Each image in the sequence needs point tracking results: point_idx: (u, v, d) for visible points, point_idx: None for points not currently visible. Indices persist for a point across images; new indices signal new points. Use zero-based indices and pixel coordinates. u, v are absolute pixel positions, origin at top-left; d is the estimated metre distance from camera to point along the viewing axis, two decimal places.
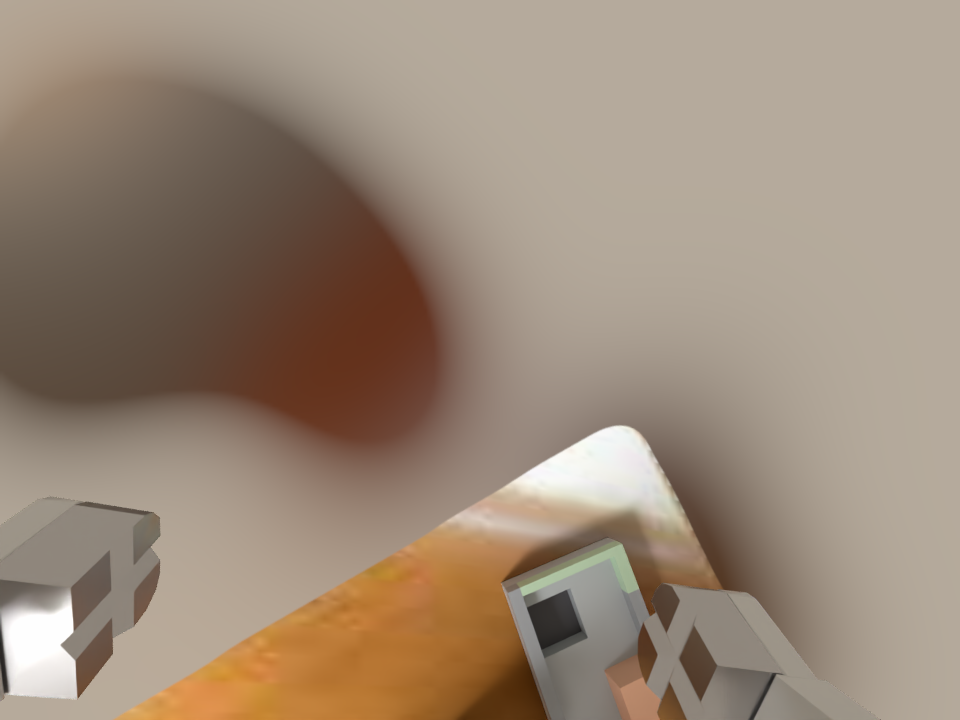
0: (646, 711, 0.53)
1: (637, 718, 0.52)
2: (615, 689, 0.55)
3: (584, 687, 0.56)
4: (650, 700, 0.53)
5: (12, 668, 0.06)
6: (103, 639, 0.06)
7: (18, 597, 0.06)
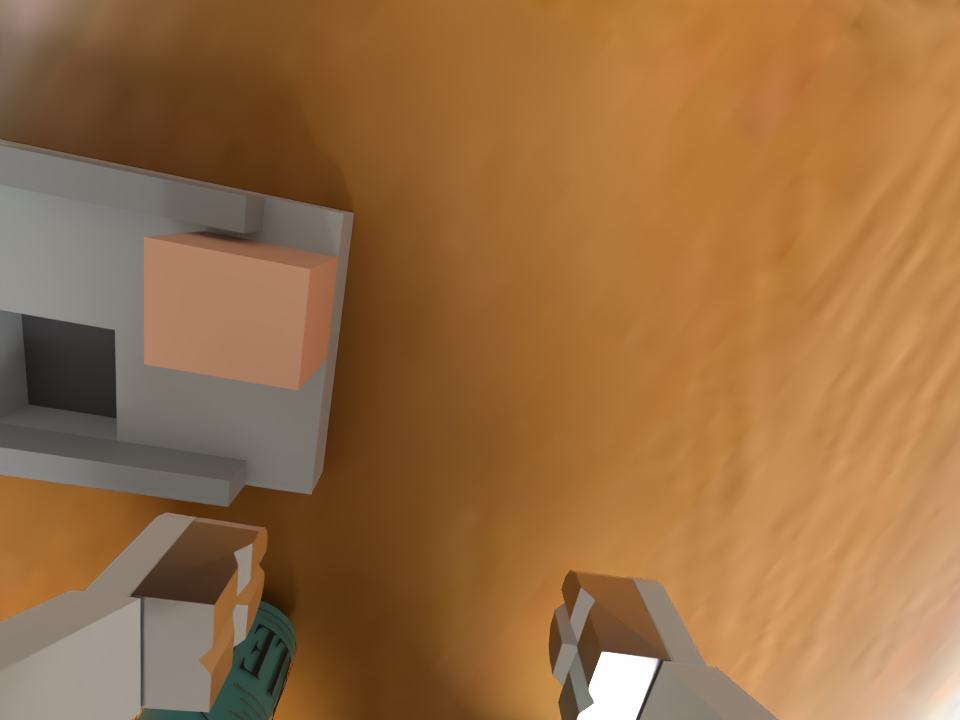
0: (231, 332, 0.19)
1: (236, 363, 0.19)
2: None
3: (215, 392, 0.24)
4: (212, 306, 0.18)
5: (150, 682, 0.06)
6: (228, 653, 0.07)
7: (164, 614, 0.06)
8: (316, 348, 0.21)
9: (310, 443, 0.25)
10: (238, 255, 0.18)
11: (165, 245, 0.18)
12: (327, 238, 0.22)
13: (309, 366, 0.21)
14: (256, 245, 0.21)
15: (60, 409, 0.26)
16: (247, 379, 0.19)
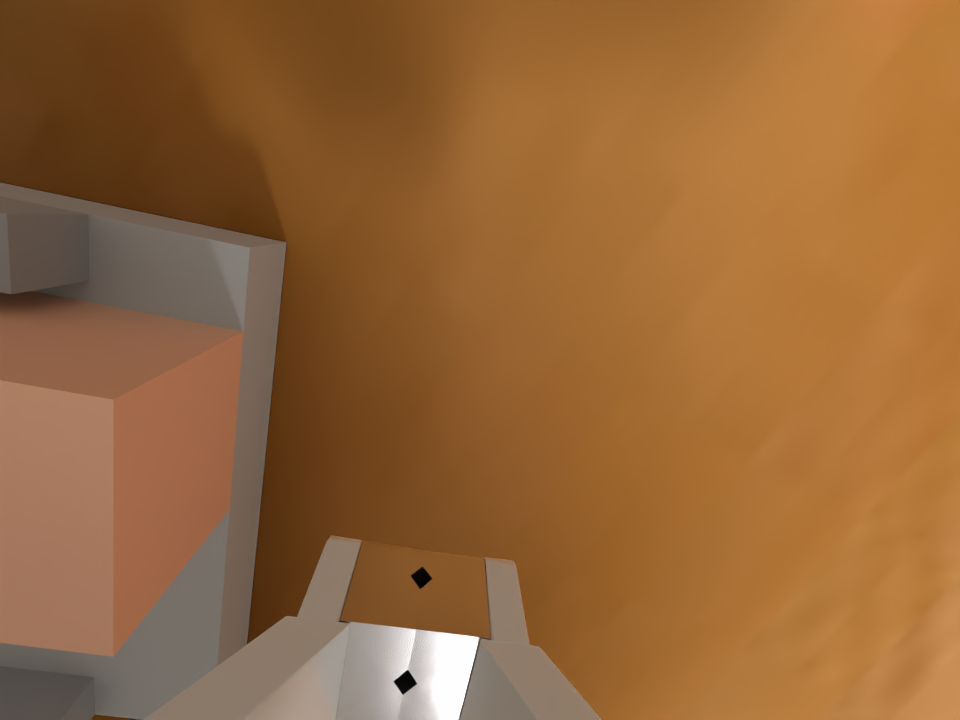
0: None
1: None
2: None
3: None
4: None
5: (345, 702, 0.06)
6: (404, 674, 0.07)
7: (367, 638, 0.06)
8: (184, 525, 0.10)
9: (207, 649, 0.14)
10: None
11: None
12: (220, 295, 0.11)
13: (160, 574, 0.10)
14: (56, 315, 0.10)
15: None
16: None
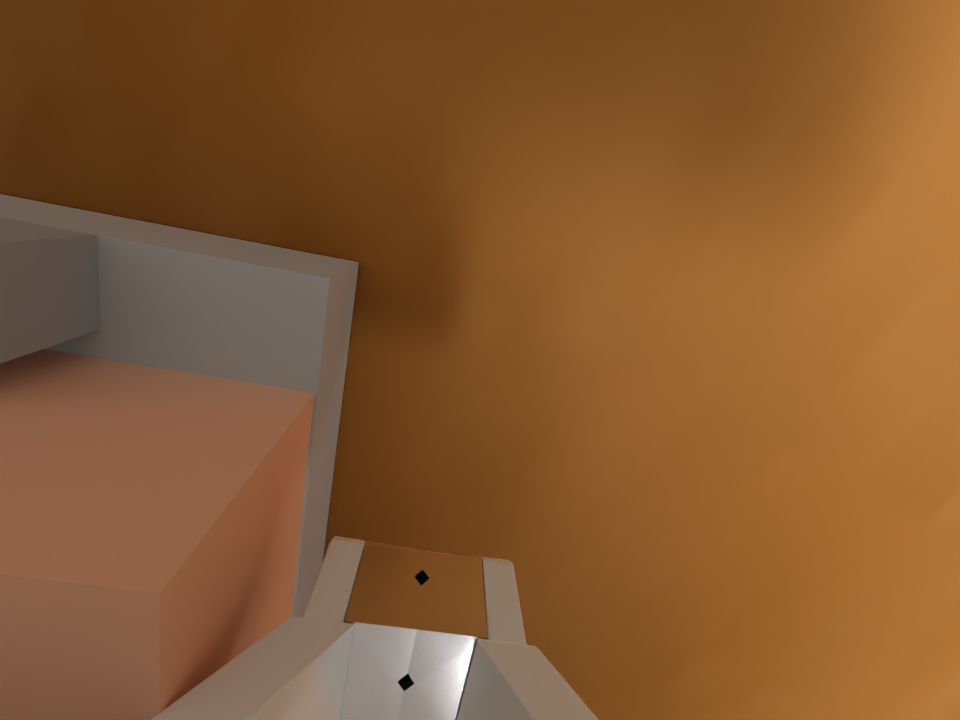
0: None
1: None
2: None
3: None
4: None
5: (349, 703, 0.06)
6: None
7: (372, 639, 0.06)
8: None
9: None
10: None
11: None
12: (286, 346, 0.08)
13: None
14: (52, 389, 0.07)
15: None
16: None
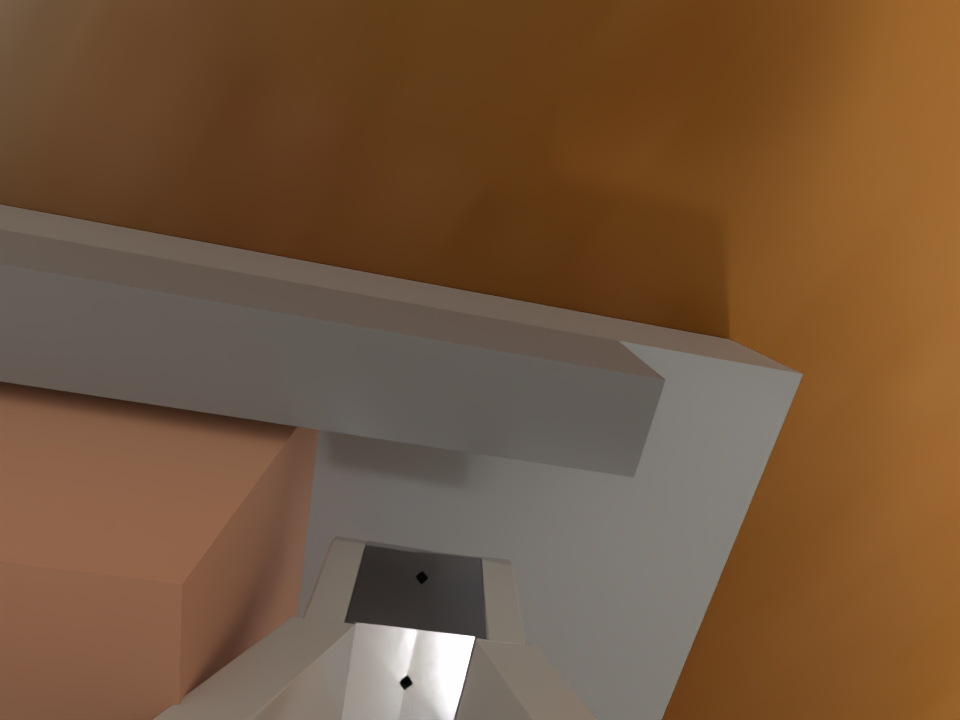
0: None
1: None
2: None
3: None
4: None
5: (350, 703, 0.06)
6: None
7: (373, 639, 0.06)
8: None
9: None
10: None
11: None
12: (749, 431, 0.09)
13: None
14: None
15: None
16: None
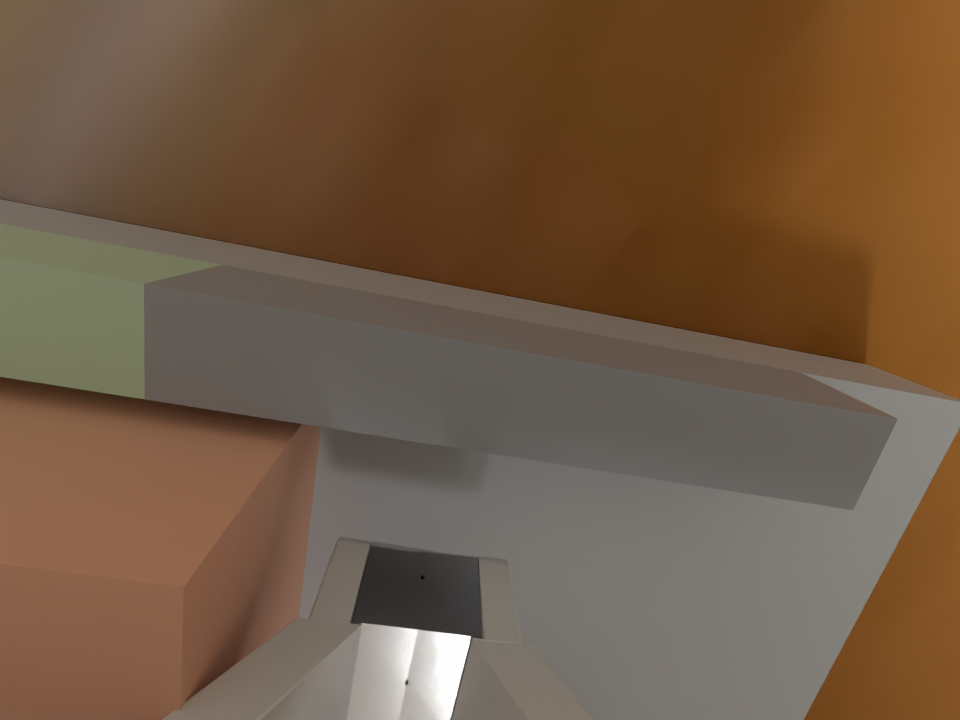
0: None
1: None
2: None
3: None
4: None
5: (356, 703, 0.06)
6: None
7: (378, 639, 0.06)
8: None
9: None
10: None
11: None
12: (914, 458, 0.09)
13: None
14: None
15: None
16: None
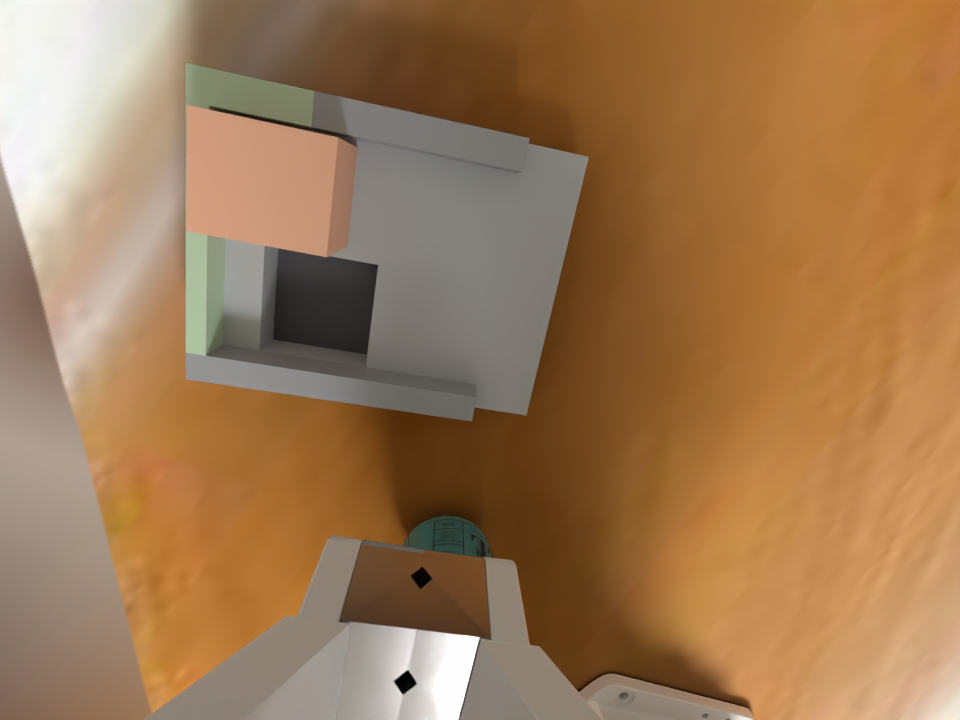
0: (266, 199, 0.21)
1: (270, 230, 0.21)
2: None
3: (456, 321, 0.27)
4: (248, 174, 0.20)
5: (345, 702, 0.06)
6: (404, 673, 0.07)
7: (368, 638, 0.06)
8: (340, 227, 0.23)
9: (532, 367, 0.29)
10: (272, 123, 0.20)
11: (206, 113, 0.19)
12: (572, 179, 0.25)
13: (334, 241, 0.23)
14: None
15: (301, 343, 0.29)
16: (280, 246, 0.21)
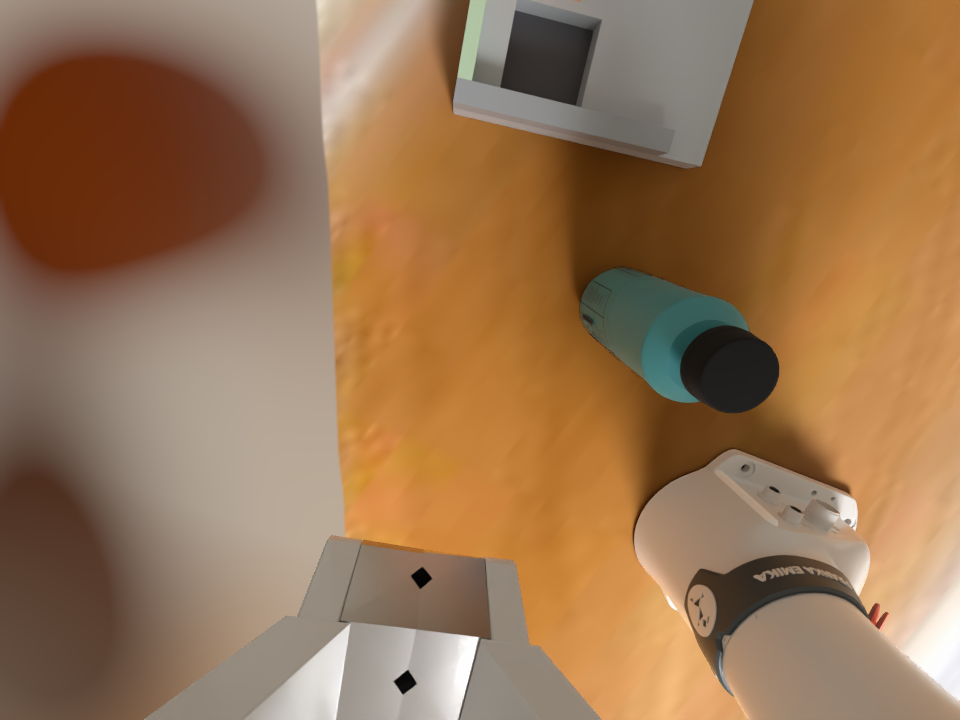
0: None
1: None
2: None
3: (656, 74, 0.34)
4: None
5: (345, 702, 0.06)
6: None
7: (367, 638, 0.06)
8: None
9: (711, 121, 0.35)
10: None
11: None
12: None
13: None
14: None
15: None
16: None
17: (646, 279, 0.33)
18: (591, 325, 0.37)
